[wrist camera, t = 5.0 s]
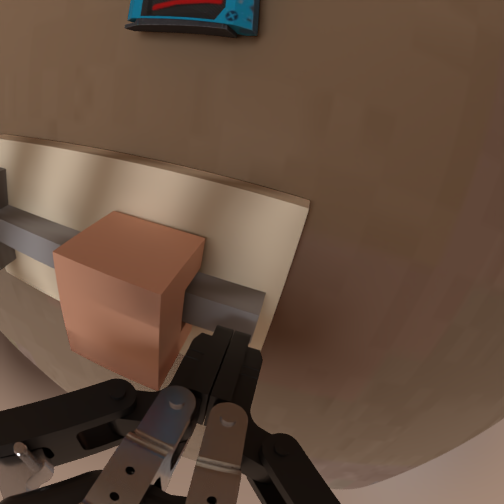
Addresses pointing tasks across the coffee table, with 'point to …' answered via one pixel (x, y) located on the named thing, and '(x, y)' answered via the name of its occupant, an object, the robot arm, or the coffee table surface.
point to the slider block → (127, 294)
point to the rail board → (157, 211)
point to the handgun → (195, 16)
